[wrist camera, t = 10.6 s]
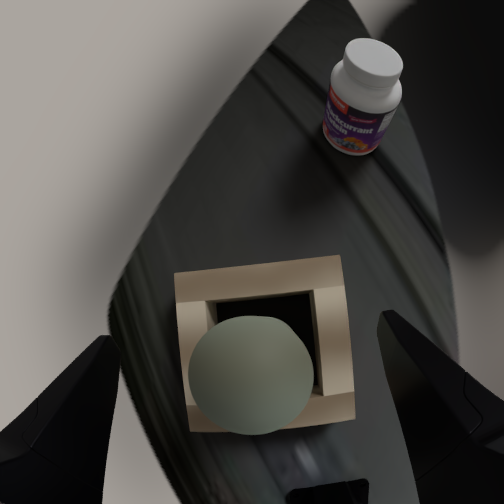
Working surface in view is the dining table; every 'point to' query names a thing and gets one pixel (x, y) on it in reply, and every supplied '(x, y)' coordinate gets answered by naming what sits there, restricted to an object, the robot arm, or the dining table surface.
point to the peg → (251, 375)
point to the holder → (270, 286)
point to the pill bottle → (362, 96)
